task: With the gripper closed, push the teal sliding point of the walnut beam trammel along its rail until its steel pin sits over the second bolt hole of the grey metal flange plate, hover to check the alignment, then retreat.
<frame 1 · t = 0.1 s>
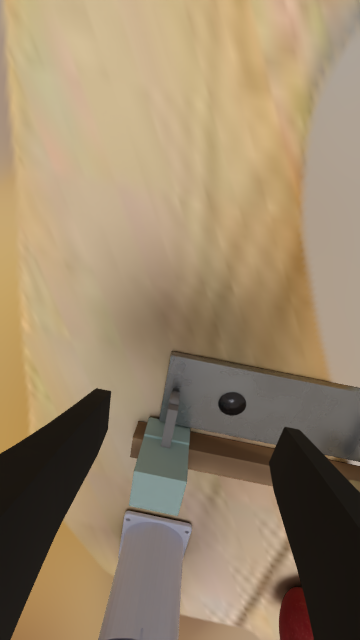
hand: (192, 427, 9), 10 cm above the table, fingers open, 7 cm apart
carriage: (165, 445, 19), point 3 cm above the table, slide at 0.0 cm
apple: (300, 588, 30), on the table
trammel rail: (255, 454, 23), on the table
flange plate: (285, 408, 20), on the table
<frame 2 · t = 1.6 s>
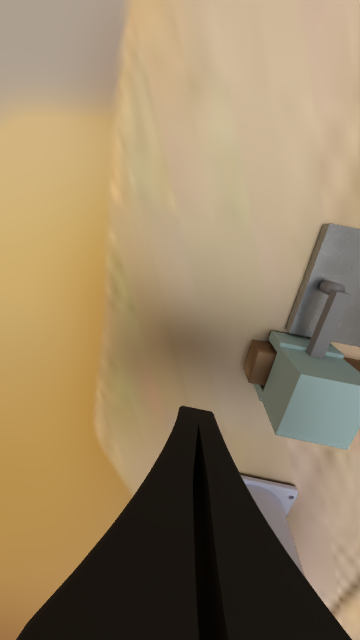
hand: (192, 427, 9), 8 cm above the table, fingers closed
carriage: (316, 355, 14), point 3 cm above the table, slide at 0.0 cm
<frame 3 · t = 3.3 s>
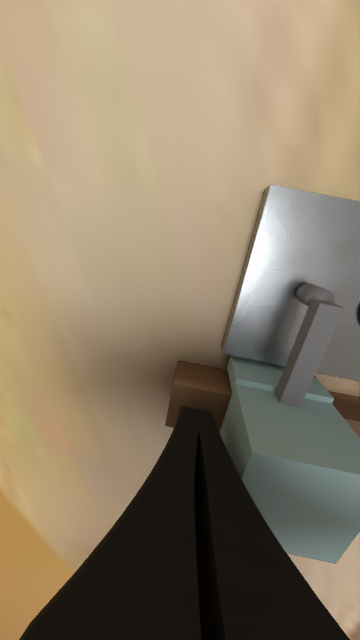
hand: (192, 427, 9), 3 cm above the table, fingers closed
carriage: (289, 402, 9), point 3 cm above the table, slide at 1.5 cm, touching gripper
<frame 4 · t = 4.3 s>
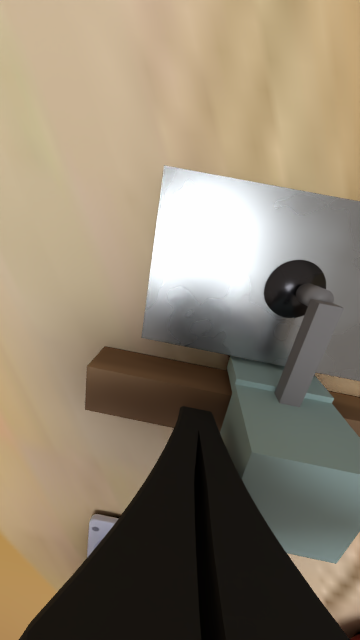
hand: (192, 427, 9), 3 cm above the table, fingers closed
carriage: (289, 401, 9), point 3 cm above the table, slide at 5.4 cm, touching gripper
trammel rail: (323, 410, 12), on the table
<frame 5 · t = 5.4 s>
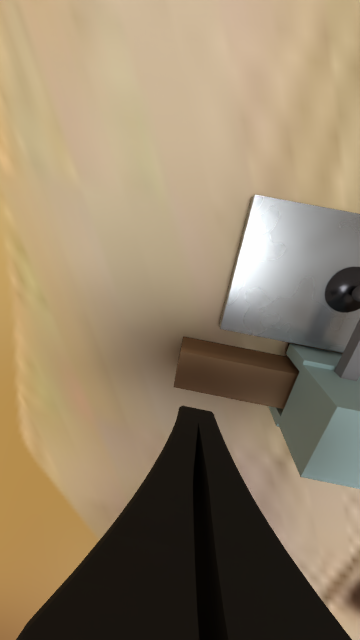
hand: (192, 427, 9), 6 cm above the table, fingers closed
carriage: (348, 377, 11), point 3 cm above the table, slide at 5.4 cm
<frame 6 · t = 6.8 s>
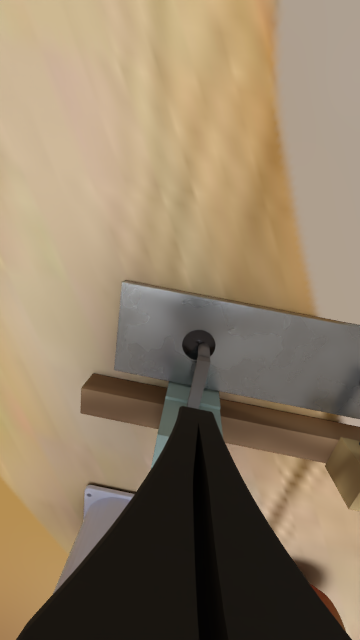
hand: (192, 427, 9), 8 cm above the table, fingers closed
carriage: (192, 409, 16), point 3 cm above the table, slide at 5.4 cm
trammel rail: (231, 413, 19), on the table
flange plate: (264, 353, 17), on the table
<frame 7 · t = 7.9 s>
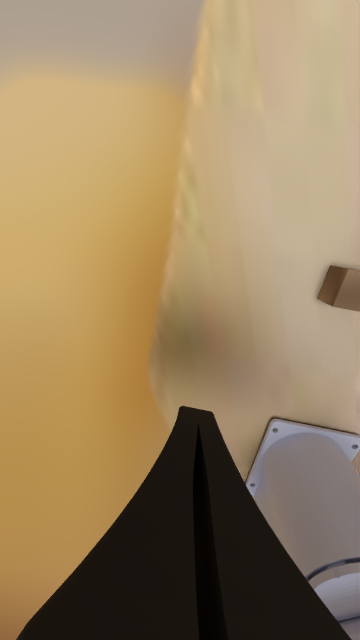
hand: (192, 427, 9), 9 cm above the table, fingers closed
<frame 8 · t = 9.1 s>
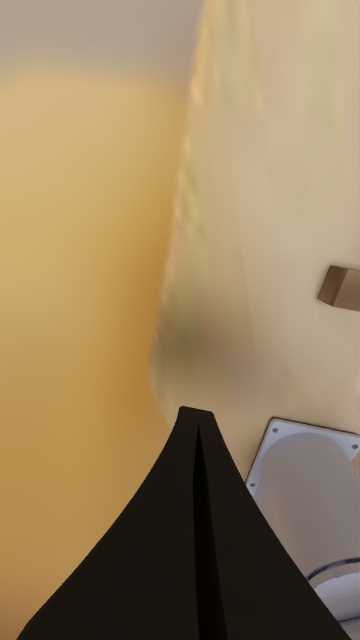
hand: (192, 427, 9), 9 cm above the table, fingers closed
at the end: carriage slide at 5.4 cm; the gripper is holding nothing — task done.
